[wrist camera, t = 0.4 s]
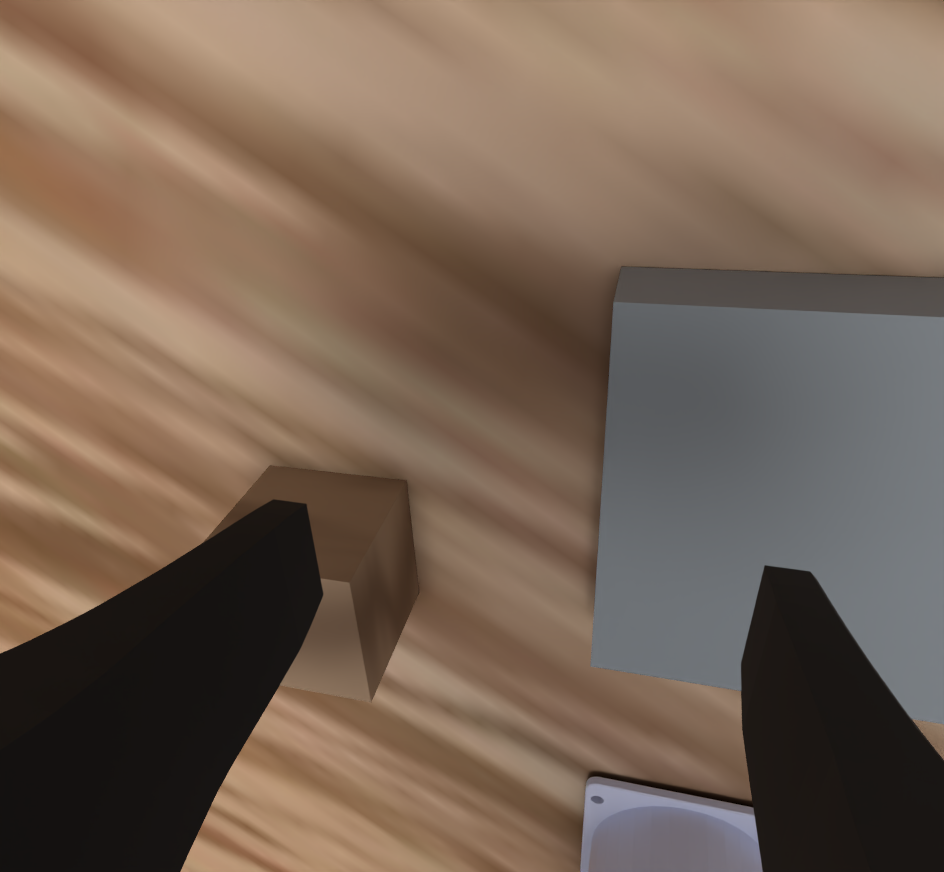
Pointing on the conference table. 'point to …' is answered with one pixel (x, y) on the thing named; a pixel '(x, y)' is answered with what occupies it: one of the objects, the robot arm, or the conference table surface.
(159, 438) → the conference table surface
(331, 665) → the walnut cube
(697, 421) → the base slab
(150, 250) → the conference table surface
